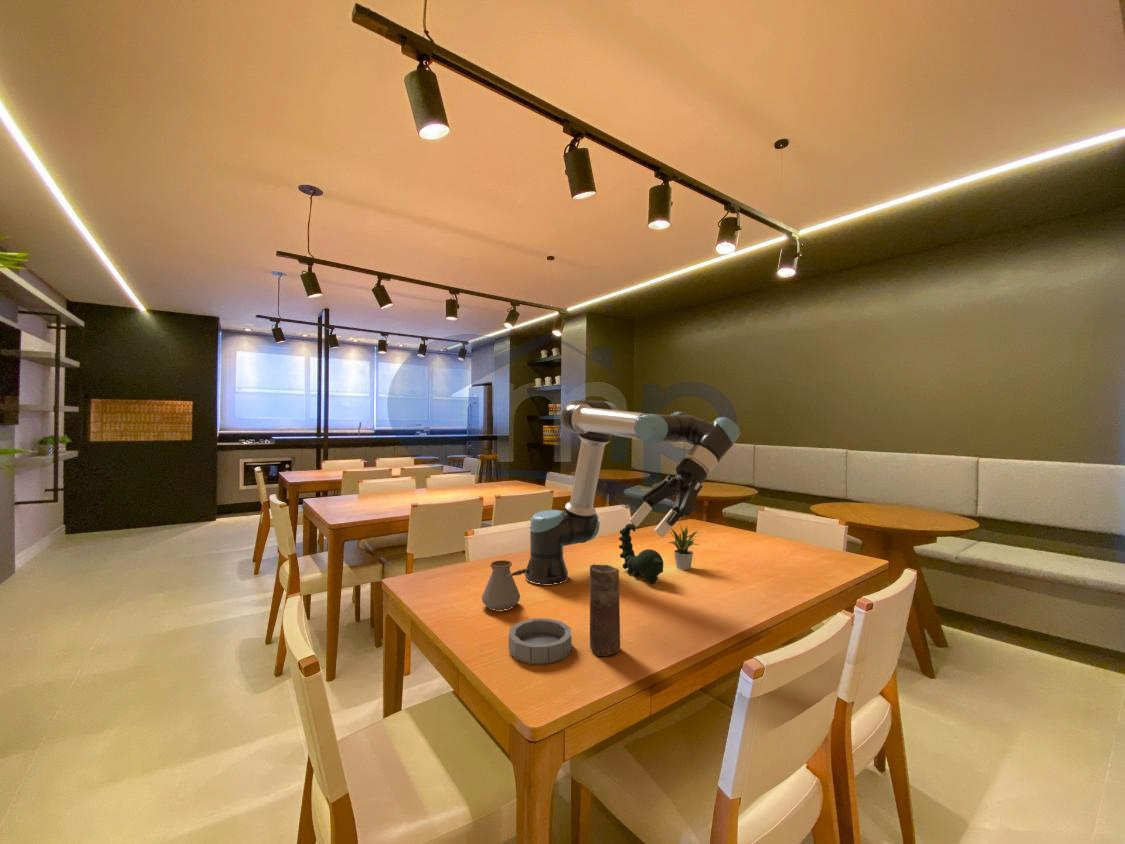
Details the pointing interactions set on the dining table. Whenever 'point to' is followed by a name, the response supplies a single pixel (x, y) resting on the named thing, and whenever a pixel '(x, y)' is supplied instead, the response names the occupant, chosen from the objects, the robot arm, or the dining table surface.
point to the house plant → (683, 549)
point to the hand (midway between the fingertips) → (645, 528)
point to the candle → (604, 610)
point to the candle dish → (540, 641)
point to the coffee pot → (502, 586)
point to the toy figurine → (639, 558)
